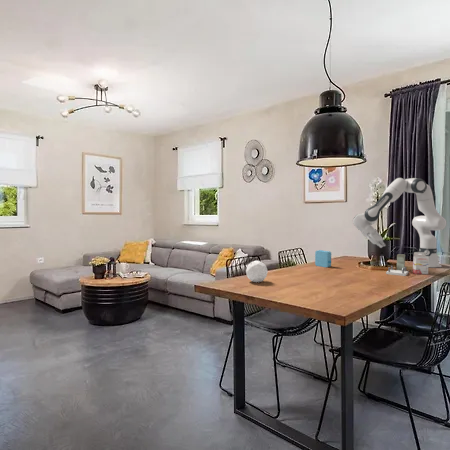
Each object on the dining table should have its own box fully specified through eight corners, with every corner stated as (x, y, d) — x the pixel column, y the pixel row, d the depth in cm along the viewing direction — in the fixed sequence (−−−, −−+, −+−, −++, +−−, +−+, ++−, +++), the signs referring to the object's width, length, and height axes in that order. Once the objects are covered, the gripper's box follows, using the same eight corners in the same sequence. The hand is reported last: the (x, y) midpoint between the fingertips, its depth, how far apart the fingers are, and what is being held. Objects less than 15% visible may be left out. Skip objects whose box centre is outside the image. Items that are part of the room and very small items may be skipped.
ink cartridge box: (415, 274, 254) (416, 252, 253) (412, 272, 259) (413, 251, 258) (428, 274, 253) (429, 252, 252) (425, 273, 258) (425, 252, 257)
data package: (331, 267, 282) (331, 251, 282) (327, 267, 280) (327, 252, 279) (318, 265, 292) (318, 250, 291) (314, 265, 289) (315, 250, 289)
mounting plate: (389, 271, 264) (389, 269, 263) (408, 273, 257) (408, 271, 256) (386, 274, 254) (386, 271, 254) (405, 275, 247) (405, 273, 247)
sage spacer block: (397, 270, 268) (398, 253, 267) (404, 271, 265) (405, 254, 265) (396, 271, 264) (397, 254, 264) (403, 271, 262) (403, 255, 261)
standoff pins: (391, 269, 262) (391, 265, 262) (406, 271, 256) (406, 266, 256) (388, 271, 254) (388, 267, 254) (403, 273, 248) (404, 268, 248)
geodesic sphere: (250, 276, 217) (261, 256, 221) (236, 272, 229) (247, 254, 233) (265, 288, 224) (275, 269, 228) (251, 284, 235) (261, 266, 239)
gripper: (369, 230, 266) (383, 245, 261) (376, 229, 283) (389, 242, 278) (362, 236, 269) (376, 250, 264) (370, 234, 286) (383, 248, 281)
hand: (383, 246), depth 271 cm, fingers open, 8 cm apart
